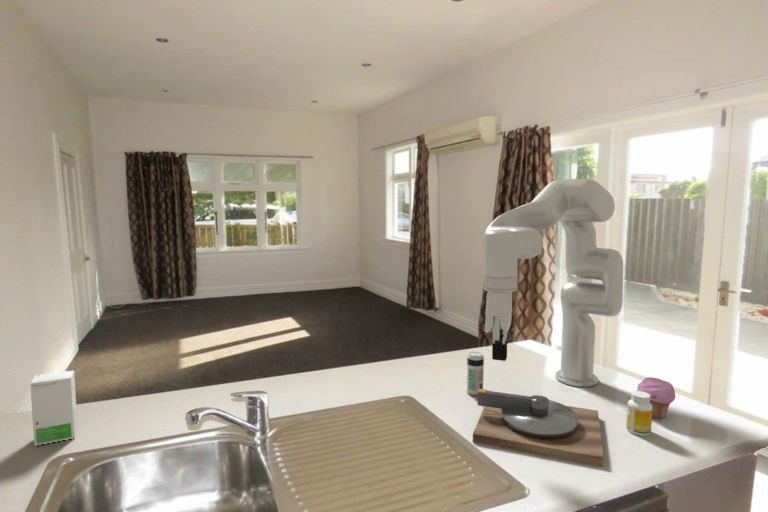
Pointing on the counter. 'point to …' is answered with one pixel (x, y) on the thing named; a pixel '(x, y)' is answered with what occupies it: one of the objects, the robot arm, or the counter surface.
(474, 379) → the pill bottle
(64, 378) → the skincare box
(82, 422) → the counter surface
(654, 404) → the cupcake
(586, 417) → the dial base
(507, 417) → the dial
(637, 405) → the supplement bottle
